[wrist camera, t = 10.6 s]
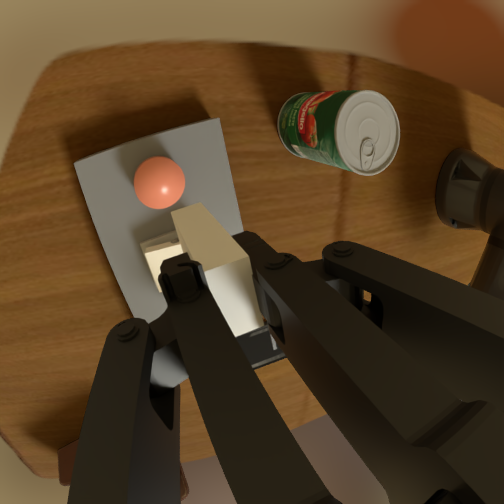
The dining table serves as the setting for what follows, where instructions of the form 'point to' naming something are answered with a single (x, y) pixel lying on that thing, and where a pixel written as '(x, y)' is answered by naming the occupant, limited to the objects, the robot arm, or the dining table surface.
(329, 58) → the dining table surface
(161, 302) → the control panel
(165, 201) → the push button
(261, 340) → the phone
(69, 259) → the dining table surface
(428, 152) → the dining table surface
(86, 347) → the dining table surface
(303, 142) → the canned tomato
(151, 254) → the rocker switch
